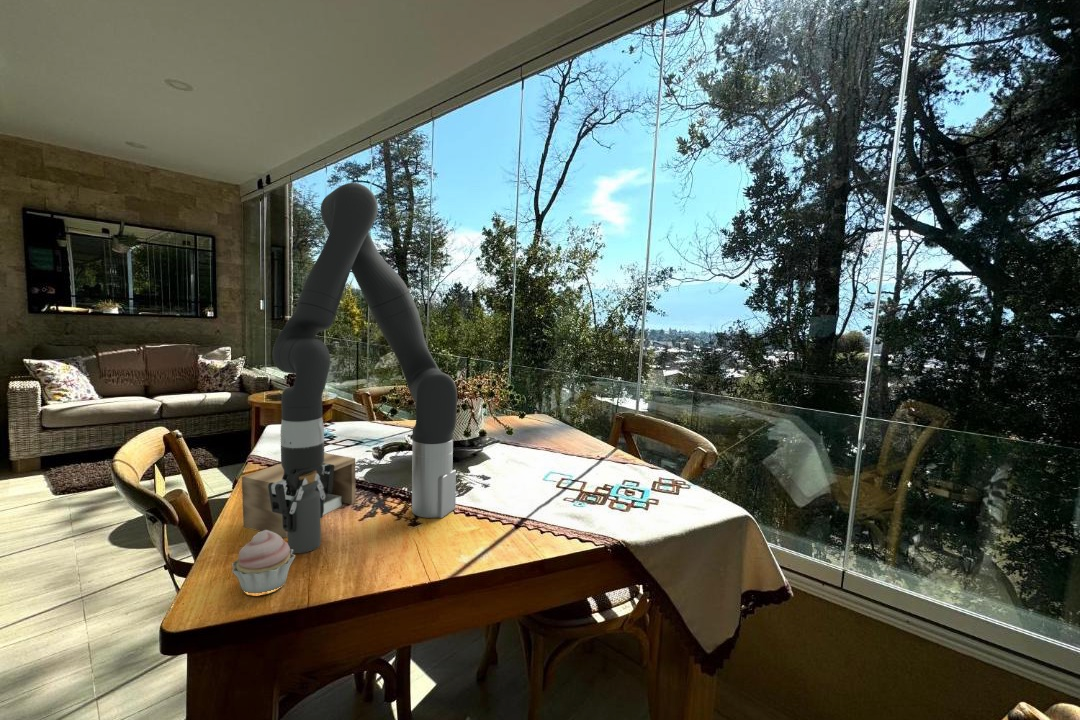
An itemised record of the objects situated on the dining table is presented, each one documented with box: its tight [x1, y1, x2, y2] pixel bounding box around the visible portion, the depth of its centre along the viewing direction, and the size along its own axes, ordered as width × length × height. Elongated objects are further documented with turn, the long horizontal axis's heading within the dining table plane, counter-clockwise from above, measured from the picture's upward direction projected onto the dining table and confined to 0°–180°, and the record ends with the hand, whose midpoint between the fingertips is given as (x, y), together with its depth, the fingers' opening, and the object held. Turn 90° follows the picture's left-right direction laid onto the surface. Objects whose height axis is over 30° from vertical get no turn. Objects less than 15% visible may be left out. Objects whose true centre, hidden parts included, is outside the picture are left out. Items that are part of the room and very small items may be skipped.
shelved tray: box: [323, 494, 343, 516], centre depth 109 cm, size 8×14×6 cm, turn 160°
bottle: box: [287, 471, 322, 554], centre depth 95 cm, size 6×6×15 cm
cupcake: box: [231, 530, 296, 593], centre depth 81 cm, size 9×9×10 cm
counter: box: [241, 452, 357, 539], centre depth 109 cm, size 12×20×11 cm, turn 160°
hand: (304, 523), depth 95 cm, fingers open, 6 cm apart
